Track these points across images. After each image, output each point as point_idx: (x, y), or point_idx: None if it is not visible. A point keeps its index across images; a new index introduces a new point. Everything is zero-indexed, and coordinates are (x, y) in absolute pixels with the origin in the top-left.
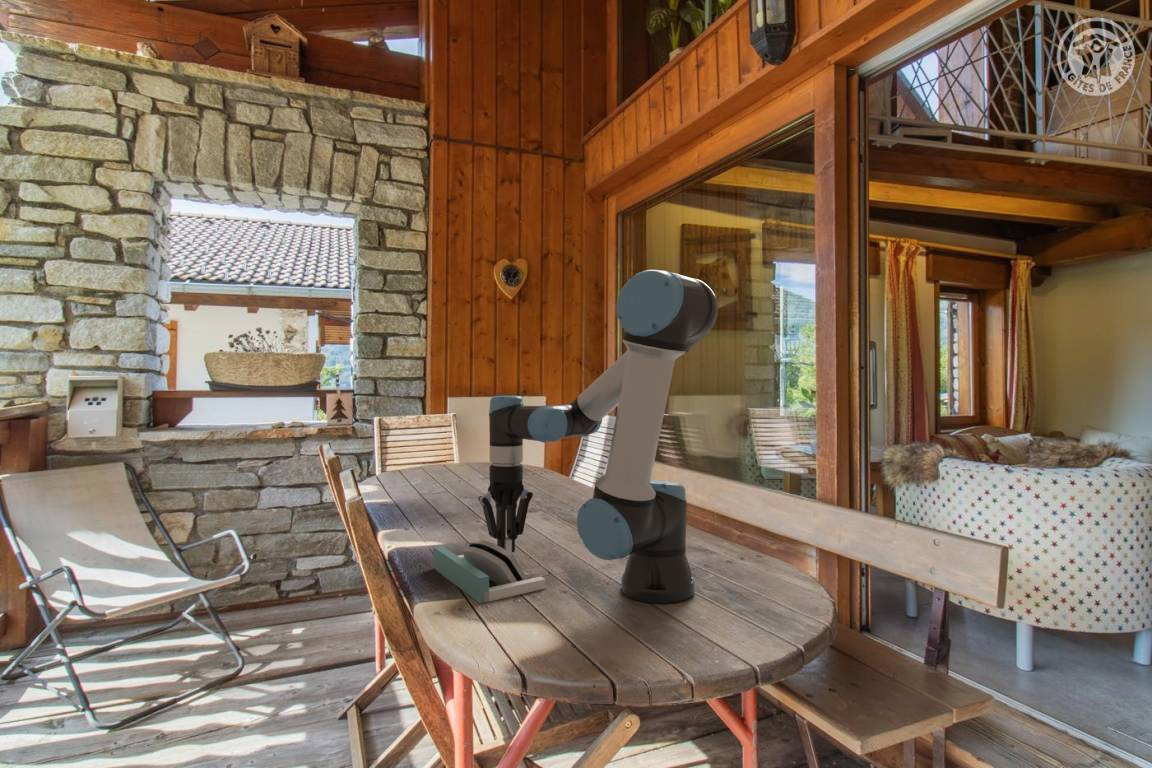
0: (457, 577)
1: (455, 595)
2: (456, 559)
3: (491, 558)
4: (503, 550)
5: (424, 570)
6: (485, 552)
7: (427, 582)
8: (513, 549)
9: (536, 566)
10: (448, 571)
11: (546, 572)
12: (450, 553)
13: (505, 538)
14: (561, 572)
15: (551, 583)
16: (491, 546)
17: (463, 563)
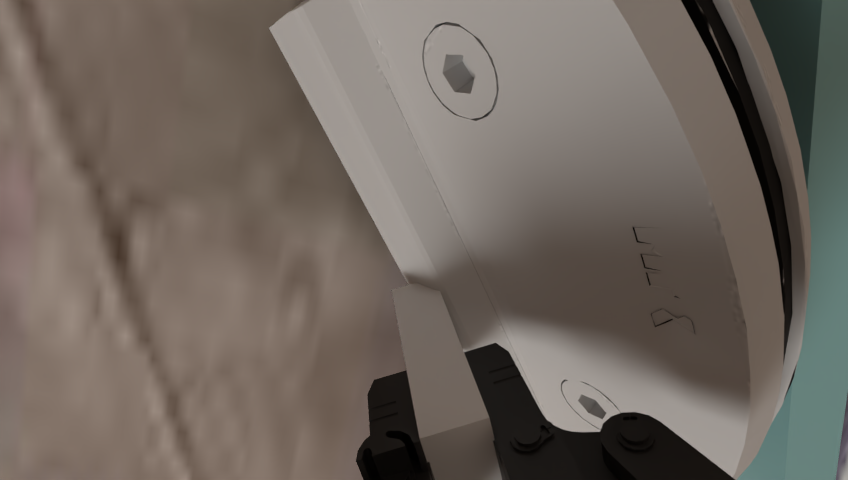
0: None
1: None
2: (837, 288)
3: (747, 3)
4: (649, 27)
5: None
6: (788, 131)
7: None
8: (381, 393)
9: (200, 381)
10: None
11: (141, 258)
12: (804, 422)
13: (499, 437)
14: (19, 230)
15: (125, 6)
16: (750, 182)
17: (844, 176)
